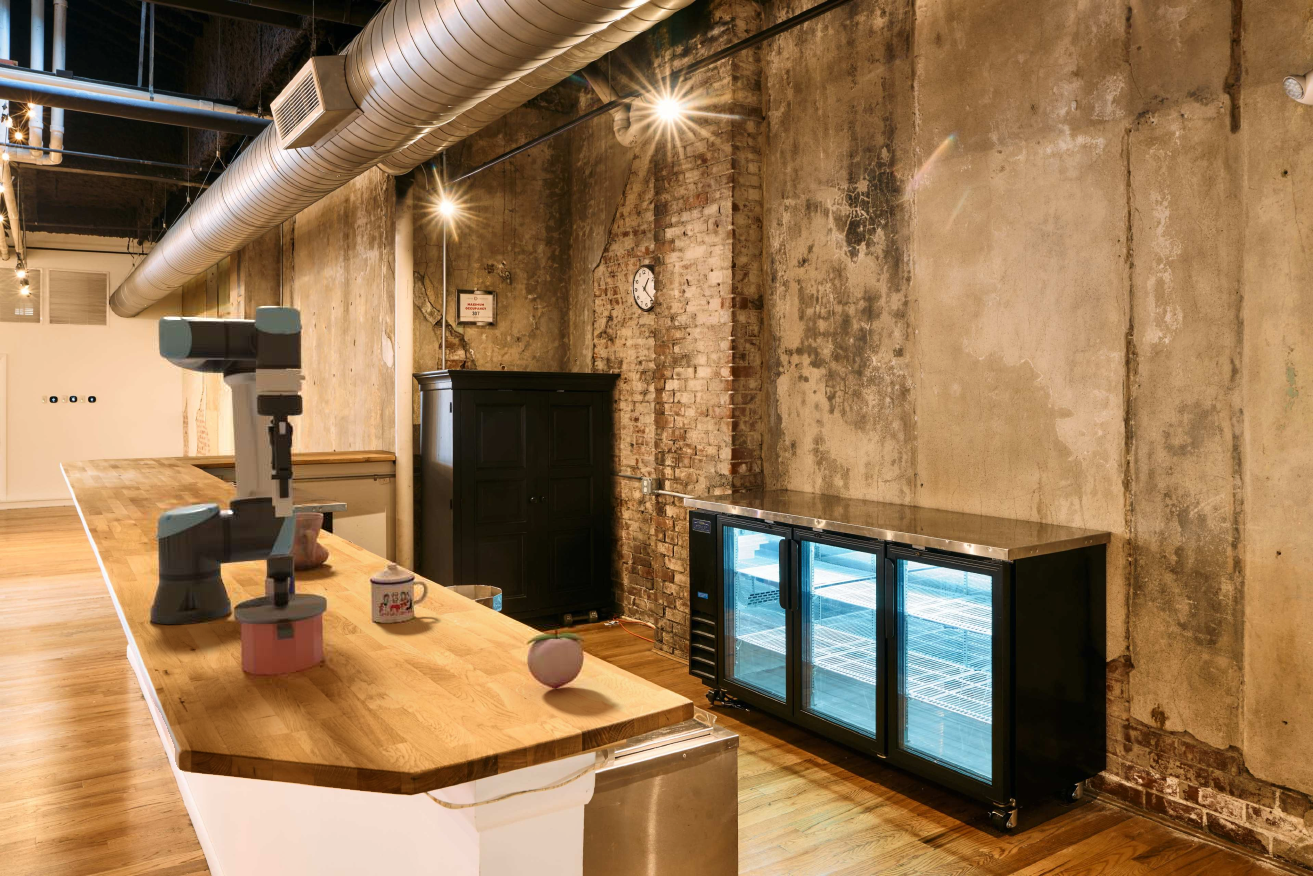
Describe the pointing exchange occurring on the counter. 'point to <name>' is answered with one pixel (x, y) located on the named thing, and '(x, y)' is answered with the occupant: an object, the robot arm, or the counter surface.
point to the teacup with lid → (394, 595)
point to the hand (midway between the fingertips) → (282, 510)
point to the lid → (280, 598)
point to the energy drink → (270, 590)
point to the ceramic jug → (308, 541)
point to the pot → (281, 646)
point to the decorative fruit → (555, 658)
